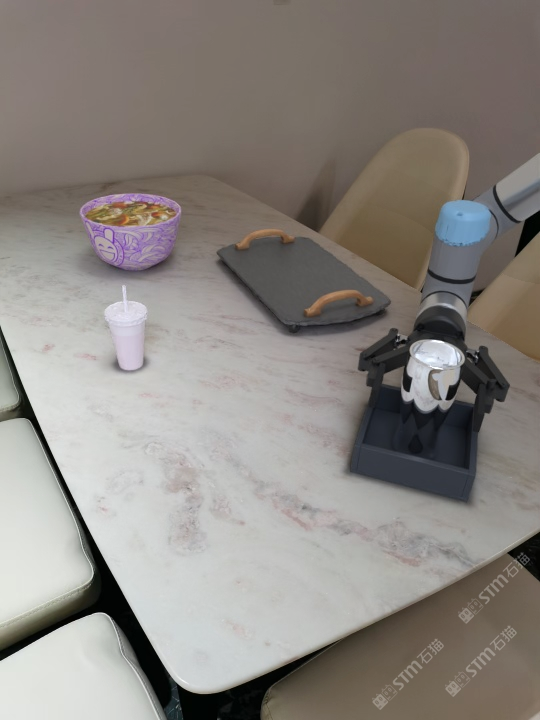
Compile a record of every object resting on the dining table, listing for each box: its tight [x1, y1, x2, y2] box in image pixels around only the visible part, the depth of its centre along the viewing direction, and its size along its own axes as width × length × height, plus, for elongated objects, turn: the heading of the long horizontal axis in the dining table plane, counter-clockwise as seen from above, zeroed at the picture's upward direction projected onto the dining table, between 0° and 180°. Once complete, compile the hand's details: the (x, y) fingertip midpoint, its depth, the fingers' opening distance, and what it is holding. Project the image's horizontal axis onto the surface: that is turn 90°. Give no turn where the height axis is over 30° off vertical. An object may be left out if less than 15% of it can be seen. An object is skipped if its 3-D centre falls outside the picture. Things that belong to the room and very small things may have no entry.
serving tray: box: [216, 228, 392, 334], centre depth 118 cm, size 39×23×6 cm, turn 26°
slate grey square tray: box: [349, 383, 479, 503], centre depth 79 cm, size 15×15×5 cm
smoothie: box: [103, 284, 149, 371], centre depth 90 cm, size 6×6×14 cm
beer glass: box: [392, 339, 465, 460], centre depth 76 cm, size 7×7×15 cm
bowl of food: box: [78, 193, 182, 272], centre depth 123 cm, size 20×20×12 cm
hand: (424, 411), depth 72 cm, fingers open, 12 cm apart
